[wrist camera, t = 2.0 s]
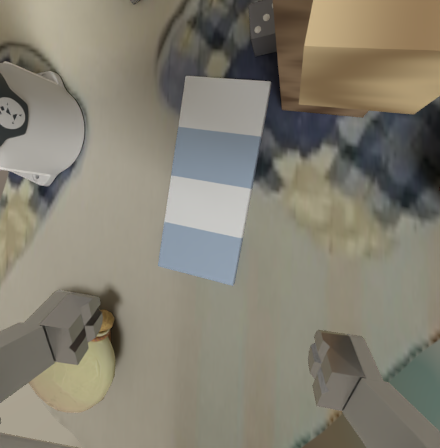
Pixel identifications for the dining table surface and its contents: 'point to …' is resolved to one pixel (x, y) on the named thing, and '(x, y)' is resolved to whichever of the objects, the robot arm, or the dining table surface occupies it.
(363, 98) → the light wooden block
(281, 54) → the walnut stand
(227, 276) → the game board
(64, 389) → the flask
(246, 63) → the dining table surface
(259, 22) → the die
